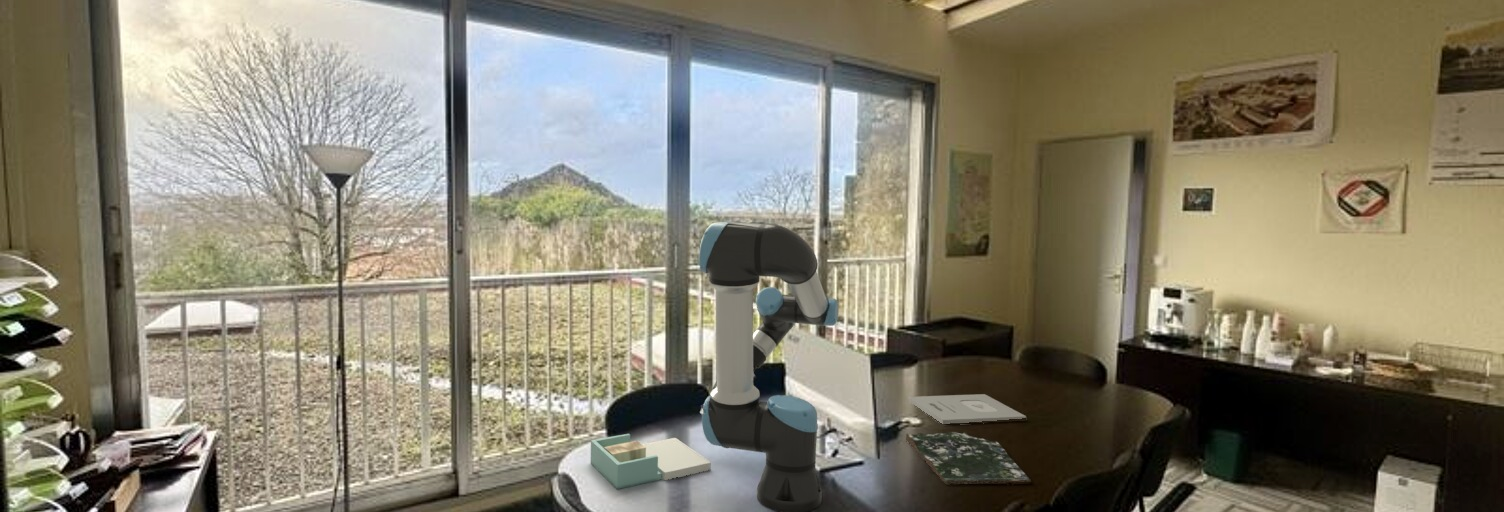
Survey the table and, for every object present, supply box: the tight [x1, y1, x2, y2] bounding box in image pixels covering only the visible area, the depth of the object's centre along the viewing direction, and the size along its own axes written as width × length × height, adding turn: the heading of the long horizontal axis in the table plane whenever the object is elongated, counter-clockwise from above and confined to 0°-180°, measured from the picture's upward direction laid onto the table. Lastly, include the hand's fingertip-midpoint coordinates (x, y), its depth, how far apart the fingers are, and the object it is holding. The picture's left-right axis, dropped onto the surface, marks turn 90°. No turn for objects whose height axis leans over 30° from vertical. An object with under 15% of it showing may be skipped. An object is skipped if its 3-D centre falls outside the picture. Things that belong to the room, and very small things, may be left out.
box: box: [590, 433, 662, 490], centre depth 167 cm, size 18×12×6 cm, turn 34°
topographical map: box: [905, 431, 1032, 486], centre depth 183 cm, size 26×33×3 cm
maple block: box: [604, 440, 646, 463], centre depth 168 cm, size 6×6×9 cm
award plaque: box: [907, 393, 1027, 424], centre depth 226 cm, size 25×30×2 cm
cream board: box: [641, 437, 712, 481], centre depth 175 cm, size 20×13×2 cm, turn 34°
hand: (704, 416), depth 180 cm, fingers closed
